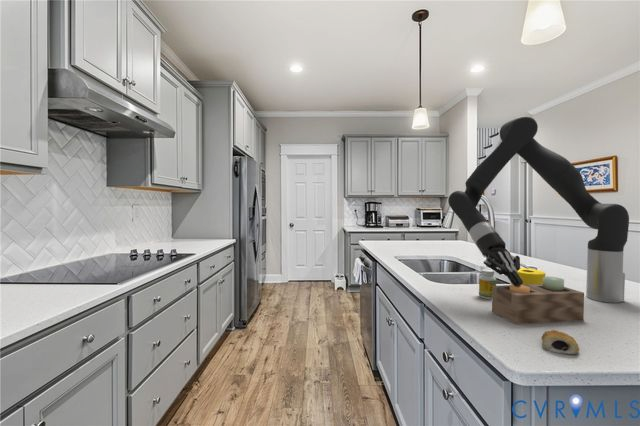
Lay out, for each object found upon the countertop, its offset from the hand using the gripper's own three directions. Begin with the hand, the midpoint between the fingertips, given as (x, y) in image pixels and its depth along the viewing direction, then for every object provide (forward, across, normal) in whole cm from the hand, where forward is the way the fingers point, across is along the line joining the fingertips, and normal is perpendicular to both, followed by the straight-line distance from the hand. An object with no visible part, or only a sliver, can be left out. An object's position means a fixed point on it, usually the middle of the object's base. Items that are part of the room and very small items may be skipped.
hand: (519, 284), depth 91 cm
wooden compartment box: (+7, +6, +6) cm, 11 cm away
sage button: (+2, +11, 0) cm, 11 cm away
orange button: (+2, 0, +2) cm, 4 cm away
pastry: (+19, -8, -5) cm, 22 cm away
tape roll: (-3, +20, +16) cm, 26 cm away
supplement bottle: (-6, +7, +20) cm, 22 cm away
